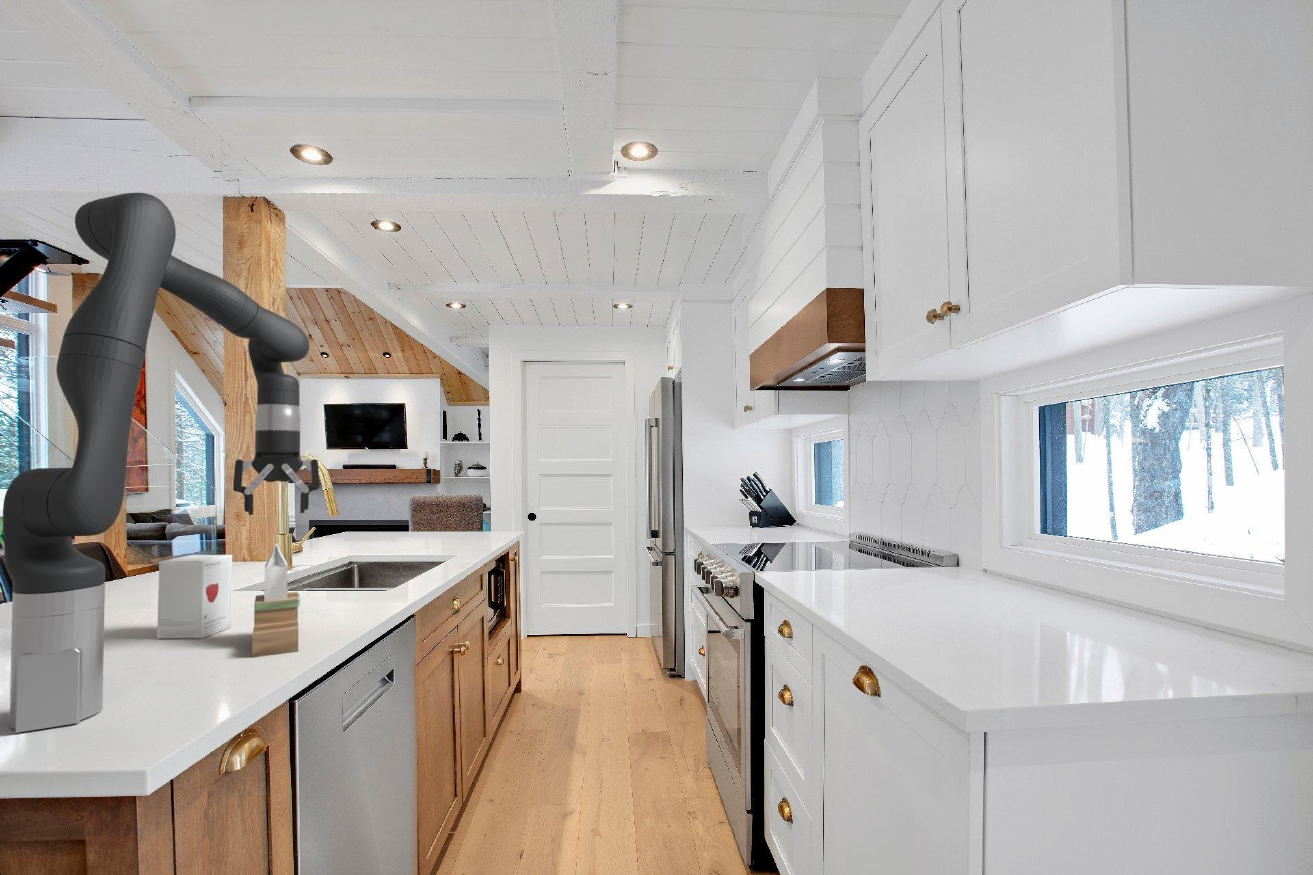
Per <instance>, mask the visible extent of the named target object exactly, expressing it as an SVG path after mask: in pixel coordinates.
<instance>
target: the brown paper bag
mask: <svg viewBox="0 0 1313 875" xmlns="http://www.w3.org/2000/svg"><path fill="white" fill-rule="evenodd" d="M300 600H301V599H300V592H298V591H290V592H288V591H287V600H277V601H266V602H264V594H259V595H255V599H254V602H253V603H254V605H253V606H254V607H253V608H254V610H253V618H254V619H253V620H254V621H253V630H252V639H251V640H252V642H251V643H252V644H251V645H252V647H251V648H252V649H251V650H252V652H251V654H252V655H251V657H252V658H259V657H264V656H266V657H267V656H273V655H280V654H287V653H296V652H299V614H298V613H299V607H300V605H301V601H300Z"/></svg>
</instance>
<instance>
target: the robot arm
mask: <svg viewBox="0 0 1313 875" xmlns="http://www.w3.org/2000/svg"><path fill="white" fill-rule="evenodd" d="M74 224H75V229H76V232H77V234H78V236H79V237H80V240H81V241H82V242H83V243H84V245H86V246H87V247H88V249H90V250H91V251H92V252H94V253H96V254H97V255H98V256H100V257H102V258H104V259H105V260H107V261H108V262H107V263H106V267H105V270H104V272H103V274H102V276H100V279H99V280H98V281H97V283H96V285H94V287H93V288H92V289H91V291H90V292H89V293H88V295H87V296H86V297H85V299H84V300H83V301H82V302H81V303H80V305H79V306H78V308H77V309H76V310H75V311H74V312H73V315H72V316H71V317H70V319H69V321H68V323H67V325H66V327H65V330H64V333H63V336H62V340H61V344H60V349H59V353H58V358H57V361H56V370H55V371H56V377H57V381H58V384H59V387H60V389H61V391H62V394H63V396H64V398H65V399H66V400H65V401H66V402H67V403H68V406H69V407H70V409H71V411H72V413H73V416H74V419H75V421H76V425H77V432H78V434H77V445H76V451H75V456H74V460H73V464H72V467H43V468H41V467H40V468H32V469H28V470H25V471H23V472H21V473H18V475H17V476H15V477H14V479H12V481H11V482H10V484H8V485H9V486H8V487H7V490H6V492H5V495H4V499H3V508H2V526H3V527H2V529H3V530H2V531H3V545H4V546H3V550H4V564H5V568H6V572H7V573H8V575H9V577H10V579H11V581H12V582H11V583H12V602H11V603H12V604H11V605H12V606H11V607H12V609H11V612H12V613H11V637H10V640H11V643H10V646H11V648H10V682H9V683H10V690H9V691H10V692H9V696H10V697H9V727H10V729H13V730H14V732H15V733H16V734H17V733H21V732H22V733H23V732H24V733H25V732H29V731H35V730H42V729H47V728H48V729H49V728H55V727H61V726H69V725H73V724H78V723H80V722H81V721H82V720H84V719H85V720H86V719H87V718H90V717H91V716H94V715H96V714H98V713H99V712H101V711H102V709H103V708H104V705H103V704H104V662H105V661H104V656H105V653H104V652H105V650H104V649H105V647H104V646H105V603H106V599H105V598H106V595H105V594H106V567H105V564H104V563H103V562H101V561H100V560H98V559H95V558H94V557H93V558H92V557H90V556H87V555H85V554H83V553H82V552H81V551H79V549H77V548H76V547H75V546H74V544H73V540H72V537H90V536H91V537H92V536H97V535H101V534H104V533H105V532H106V531H108V530H109V529H110V528H111V527H112V526H113V525H114V524H115V522H116V520H117V519H118V517H119V515H120V512H121V508H122V505H123V502H124V496H125V495H124V494H125V488H126V474H127V465H128V464H127V463H128V453H129V452H128V450H129V448H128V447H129V437H130V432H131V431H130V430H131V425H132V419H133V413H134V407H135V401H136V397H137V392H138V387H139V383H140V380H141V376H142V371H143V366H144V363H145V357H146V351H147V345H148V337H149V334H150V329H151V324H152V321H153V316H154V312H155V307H156V304H157V303H156V302H157V298H158V294H159V291H160V288H161V289H162V290H165V291H167V292H168V293H170V294H172V295H173V296H175V297H177V298H179V299H180V300H182V301H184V302H185V303H186V304H189V305H190V306H192V307H194V308H195V309H196V310H198V311H200V312H201V313H202V314H204V315H205V316H207V317H208V318H209V319H211V320H212V321H214V322H216V323H217V324H218V325H219V326H221V327H222V328H224V329H225V330H226V331H228V332H230V333H231V335H235V336H236V337H237V338H240V339H241V338H243V339H248V346H247V350H248V355H249V359H250V363H251V366H252V371H253V373H254V376H255V379H256V382H257V391H256V393H257V394H256V395H257V396H256V398H257V399H256V400H257V401H256V402H257V403H256V405H257V406H256V413H255V420H254V421H255V424H254V427H255V430H254V431H255V432H254V434H255V435H254V438H255V439H254V458H253V459H252V460H242V459H236V460H235V462H234V471H233V472H234V474H233V485H232V489H233V492H237V493H240V494H243V496H244V501H243V503H244V504H243V507H244V508H243V509H244V511H245V513H248V515H249V516H253V515H254V494H253V492H254V491H255V490H256V489H257V487H258V486H259V485H260V484H261V483H262V482H263V481H264V482H267V483H274V482H281V483H285V482H289V481H293V483H294V484H295V485H296V487H298V489H299V490H301V493H300V495H299V496H300V499H299V500H300V501H299V503H300V505H299V507H300V508H299V509H300V510H299V513H300V514H305V511H306V510H307V511H308V510H309V508H310V506H309V505H310V504H309V501H310V500H309V499H310V497H309V495H310V493H311V492H314V491H317V490H319V489H320V475H319V461H318V460H317V459H315V458H313V459H309V460H308V459H307V460H304V459H302V458H301V427H302V426H301V413H300V383H299V380H298V378H297V377H295V376H293V375H289V374H285V372H284V369H283V364H282V363H292V362H293V363H294V362H299V361H301V360H302V359H304V358H305V357H306V356H307V355H308V353H309V351H310V341H309V338H308V336H307V334H306V333H305V331H304V330H303V329H302V328H301V327H300V326H298V325H297V324H296V323H294V322H292V321H291V320H290V319H288V318H285V317H283V316H281V315H279V314H278V313H275V312H274V311H271V310H269V309H267V308H265V307H263V306H261V305H260V304H259V303H257V302H256V301H255V300H254V299H253V298H251V297H250V296H249V295H248V294H246V293H245V292H244V291H243V290H241V289H240V288H239V287H237V286H236V285H234V284H232V283H231V282H229V281H227V279H224V278H222V277H220V276H218V275H215V274H213V273H212V272H209V271H206V270H203V269H202V268H199V267H196V266H194V265H192V264H189V263H187V262H186V261H183V260H181V259H179V258H178V257H176V256H174V255H172V253H173V250H174V246H175V243H176V237H177V233H176V232H177V231H176V230H177V229H176V224H175V220H174V216H173V215H172V212H171V210H170V209H169V207H168V206H167V205H166V203H164V202H163V201H162V200H161V198H158V197H157V196H154V195H152V194H149V193H146V192H127V193H120V194H117V195H111V196H107V197H103V198H97V199H95V200H91V201H88V202H85V203H84V204H82V205H81V206H80V207H79V208H78V209H77V211H76V213H75V217H74ZM303 466H305V468H306V470H307V471H310V472H311V474H310V475H311V484H309V485H307V484H305V482H304V481H303V480H302V479H301V478H300V477H299V475H298V474H297V473H298V472H299V471H300V470H301V468H302V467H303ZM249 467H252V468H253V469H254V470H255V472H256V473H257V476H255V478H254V479H253V480H252V481H251V483H250V484H249V485H248V486H244V485H243V476H244V475H243V472H246V471H248V469H249Z"/></svg>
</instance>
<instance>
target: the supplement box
mask: <svg viewBox="0 0 1313 875" xmlns="http://www.w3.org/2000/svg"><path fill="white" fill-rule="evenodd" d="M158 565H159V567H158V593H157V594H158V598H157V600H158V602H157V628H156V629H157V632H156V639H203V638H207V637H209V636H211V635H214V634H216V633H220V632H222V631H225V630H228V629H230V628H232V593H233V592H232V590H233V589H232V582H233V580H232V579H233V578H232V577H233V576H232V575H233V573H232V572H233V555H232V554H190V555H185V556H180V557H176V558H171V559H165V560H161V561H159V564H158Z"/></svg>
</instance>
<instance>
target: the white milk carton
mask: <svg viewBox="0 0 1313 875" xmlns="http://www.w3.org/2000/svg"><path fill="white" fill-rule="evenodd" d="M264 566H265V567H264V586H263V587H264V590H263V592H264V594H263V595H264V602H266V601H277V600H287V593H288V562H287V560H286V558H285V556H284V555H283V553H282V551H281V550H280V547H279V544H278V542H275V543H274V546H273V549H272V552H271V553H270V555H269V557H268V559H267V561H266V563H265V565H264Z"/></svg>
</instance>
